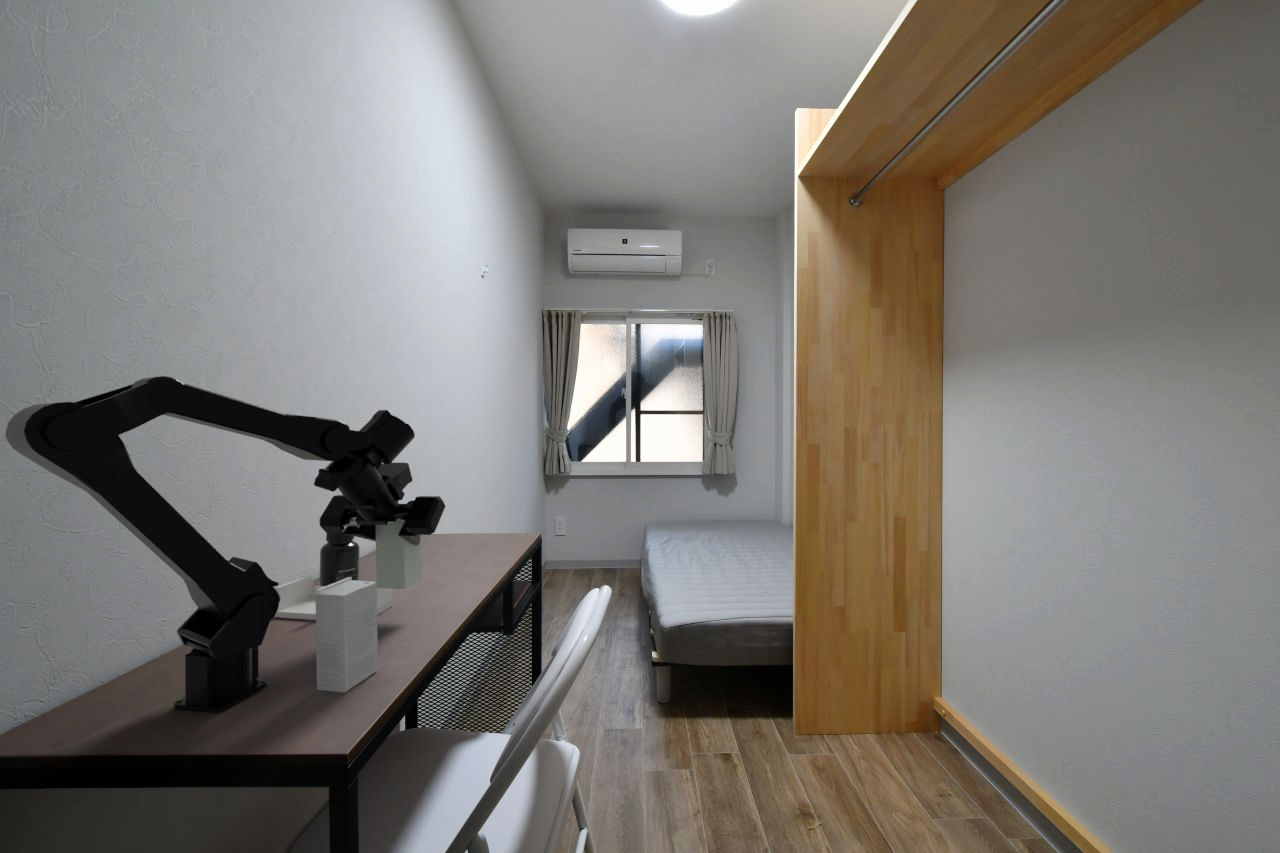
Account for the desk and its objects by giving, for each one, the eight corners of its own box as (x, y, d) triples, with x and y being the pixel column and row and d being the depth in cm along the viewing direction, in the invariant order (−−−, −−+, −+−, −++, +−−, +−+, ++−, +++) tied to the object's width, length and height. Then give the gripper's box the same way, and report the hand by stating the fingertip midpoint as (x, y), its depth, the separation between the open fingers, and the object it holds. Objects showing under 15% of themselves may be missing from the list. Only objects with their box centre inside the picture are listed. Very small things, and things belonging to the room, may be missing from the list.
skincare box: (350, 668, 70) (350, 579, 70) (378, 671, 69) (378, 581, 69) (313, 690, 64) (313, 593, 64) (343, 694, 63) (343, 595, 63)
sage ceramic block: (405, 588, 86) (403, 509, 86) (376, 588, 86) (375, 509, 86) (421, 579, 91) (419, 505, 91) (394, 579, 91) (393, 505, 91)
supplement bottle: (346, 596, 100) (346, 533, 100) (311, 595, 100) (311, 533, 100) (366, 585, 107) (366, 526, 107) (333, 585, 107) (333, 526, 107)
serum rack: (361, 622, 86) (361, 592, 86) (274, 617, 89) (274, 587, 89) (392, 606, 94) (392, 578, 94) (310, 601, 97) (310, 574, 97)
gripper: (439, 446, 84) (469, 505, 95) (331, 446, 86) (373, 504, 97) (413, 503, 76) (449, 559, 87) (294, 501, 78) (344, 557, 89)
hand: (403, 542), depth 90 cm, fingers closed on sage ceramic block, 5 cm apart
